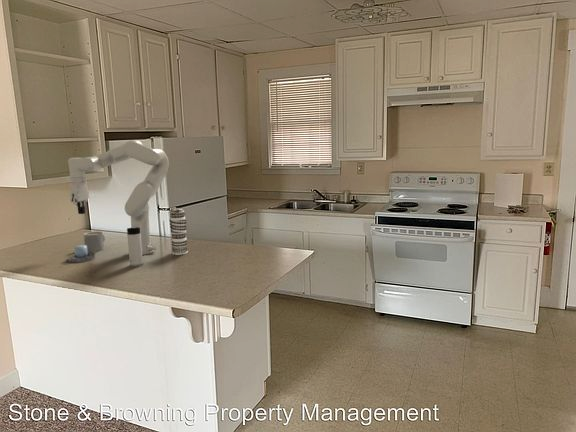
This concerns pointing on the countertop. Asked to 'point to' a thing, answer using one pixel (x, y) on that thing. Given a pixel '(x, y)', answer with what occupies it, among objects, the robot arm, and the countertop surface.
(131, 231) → the travel mug
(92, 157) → the robot arm
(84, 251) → the pale blue rounded block
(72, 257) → the collar ring
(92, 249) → the coffee mug
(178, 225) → the decorative candle
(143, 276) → the countertop surface
